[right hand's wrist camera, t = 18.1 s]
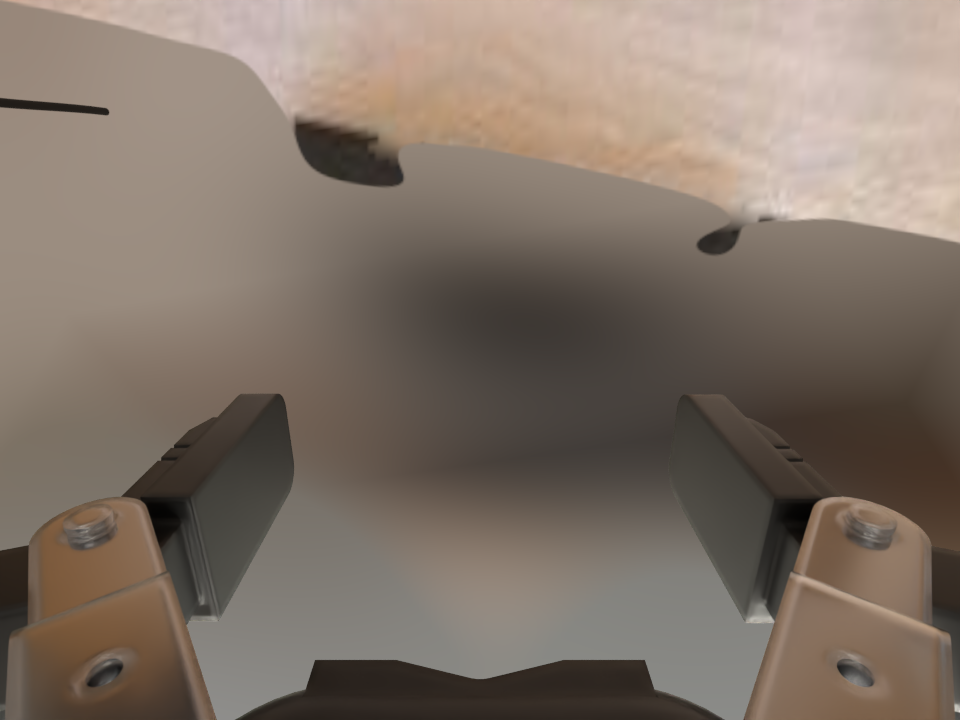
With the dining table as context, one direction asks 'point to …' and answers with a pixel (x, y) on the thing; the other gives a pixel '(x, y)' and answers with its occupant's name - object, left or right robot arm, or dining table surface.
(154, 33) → the dining table surface
